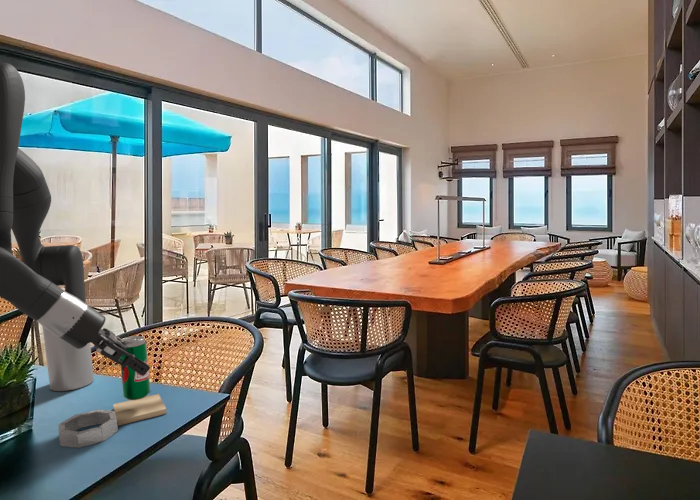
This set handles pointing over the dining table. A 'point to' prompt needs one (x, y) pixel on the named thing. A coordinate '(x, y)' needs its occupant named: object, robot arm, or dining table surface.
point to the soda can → (131, 380)
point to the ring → (89, 436)
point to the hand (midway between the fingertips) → (144, 367)
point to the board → (139, 409)
